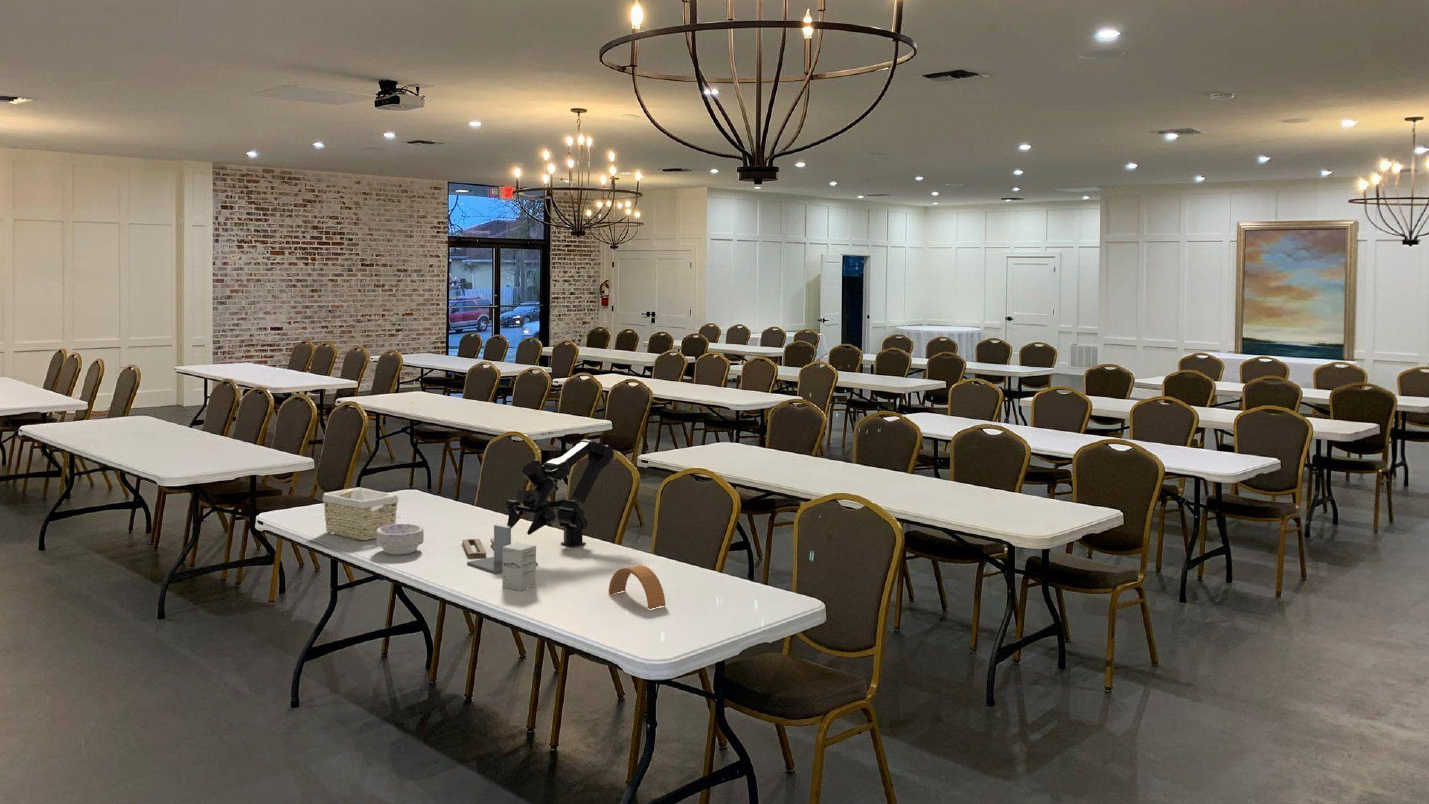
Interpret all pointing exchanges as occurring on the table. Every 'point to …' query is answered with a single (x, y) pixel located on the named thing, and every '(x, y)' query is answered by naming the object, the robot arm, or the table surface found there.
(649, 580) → the arch
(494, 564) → the pad
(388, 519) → the storage basket
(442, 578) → the table surface
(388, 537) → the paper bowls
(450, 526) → the table surface
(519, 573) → the supplement box
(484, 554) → the frame
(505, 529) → the tall grey pillar
